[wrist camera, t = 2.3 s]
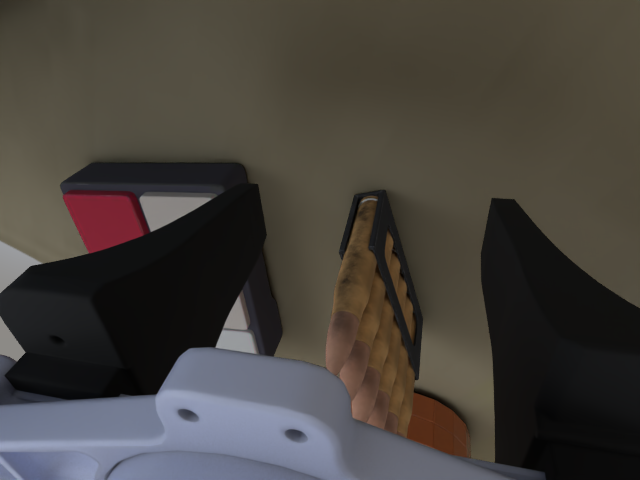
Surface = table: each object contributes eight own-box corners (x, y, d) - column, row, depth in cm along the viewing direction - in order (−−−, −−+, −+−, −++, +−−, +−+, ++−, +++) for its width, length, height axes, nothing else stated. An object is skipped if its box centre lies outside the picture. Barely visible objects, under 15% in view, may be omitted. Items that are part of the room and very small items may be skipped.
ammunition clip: (423, 320, 30) (412, 504, 21) (397, 322, 31) (375, 501, 22) (384, 188, 25) (347, 360, 16) (353, 194, 26) (300, 361, 16)
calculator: (218, 191, 23) (266, 380, 31) (248, 158, 27) (284, 336, 35) (46, 188, 26) (132, 362, 34) (94, 158, 29) (161, 323, 37)
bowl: (478, 395, 34) (482, 452, 31) (460, 471, 41) (461, 524, 38) (326, 372, 37) (314, 422, 33) (334, 447, 44) (324, 494, 40)
